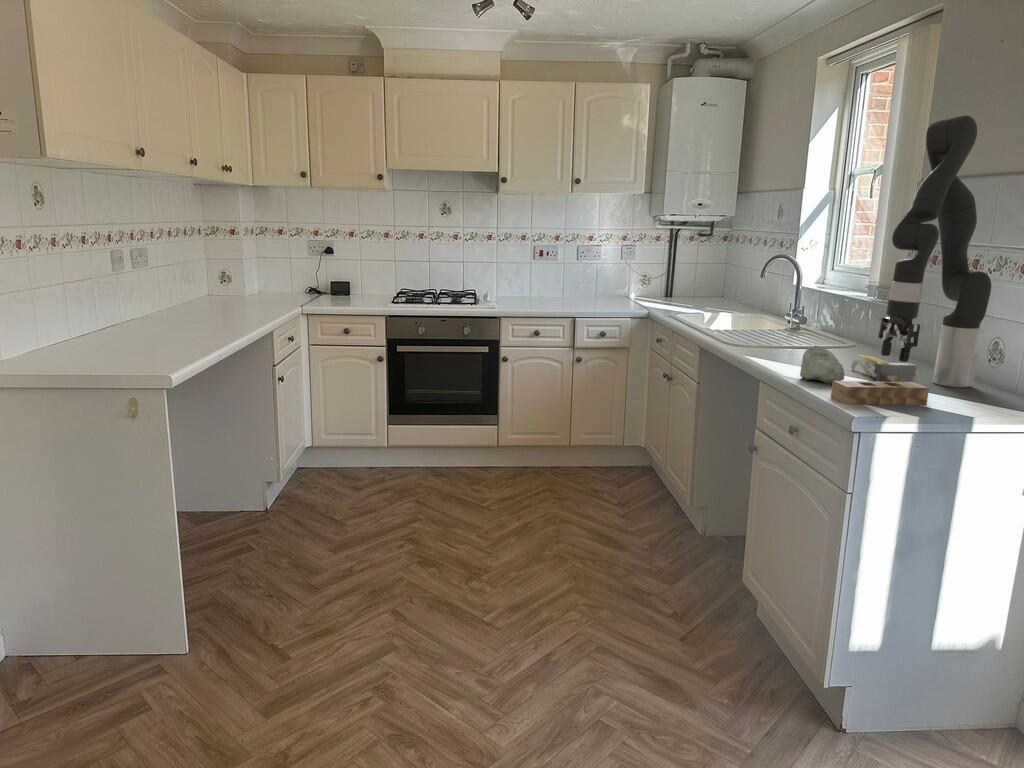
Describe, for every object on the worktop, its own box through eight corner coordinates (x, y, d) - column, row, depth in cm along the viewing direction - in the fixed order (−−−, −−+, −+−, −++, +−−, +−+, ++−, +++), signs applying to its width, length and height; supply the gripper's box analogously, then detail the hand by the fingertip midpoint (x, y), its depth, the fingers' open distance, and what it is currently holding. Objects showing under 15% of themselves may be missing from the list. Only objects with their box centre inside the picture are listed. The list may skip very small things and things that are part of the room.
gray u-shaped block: (905, 391, 199) (910, 363, 197) (912, 393, 196) (916, 365, 194) (871, 390, 198) (875, 362, 196) (877, 393, 195) (881, 364, 193)
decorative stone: (788, 374, 216) (792, 351, 208) (820, 361, 217) (826, 337, 209) (816, 405, 207) (821, 382, 199) (850, 391, 208) (857, 367, 201)
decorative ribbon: (875, 355, 227) (932, 374, 197) (869, 373, 228) (925, 394, 199) (851, 350, 226) (905, 369, 197) (846, 368, 227) (898, 389, 198)
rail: (909, 398, 191) (912, 381, 190) (926, 404, 184) (929, 388, 183) (830, 397, 189) (833, 380, 188) (844, 404, 182) (847, 386, 181)
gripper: (934, 303, 185) (923, 364, 189) (902, 297, 199) (892, 354, 203) (906, 301, 185) (895, 363, 188) (876, 295, 198) (866, 353, 202)
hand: (894, 358), depth 195 cm, fingers open, 8 cm apart
